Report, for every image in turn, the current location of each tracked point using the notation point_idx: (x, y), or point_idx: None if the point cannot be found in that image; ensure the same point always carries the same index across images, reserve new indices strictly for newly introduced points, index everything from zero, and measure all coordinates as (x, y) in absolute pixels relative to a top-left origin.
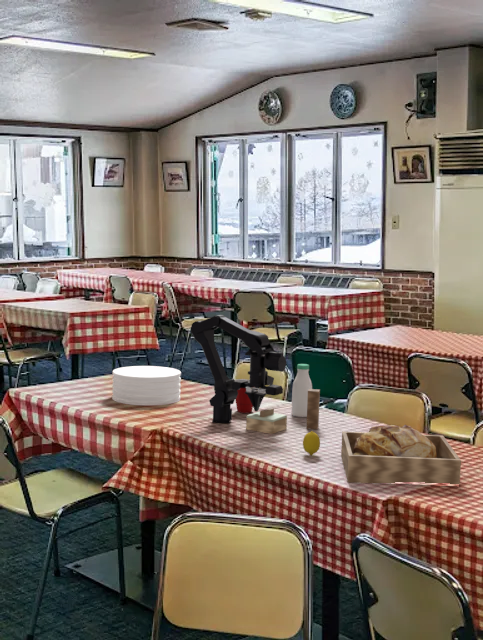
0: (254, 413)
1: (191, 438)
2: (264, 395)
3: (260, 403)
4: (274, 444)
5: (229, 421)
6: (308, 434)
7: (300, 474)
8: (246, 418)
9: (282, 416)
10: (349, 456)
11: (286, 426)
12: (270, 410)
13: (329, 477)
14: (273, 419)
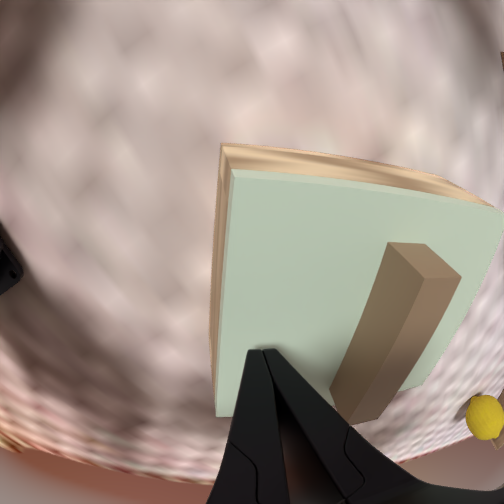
0: (234, 343)
1: (142, 475)
2: (437, 497)
3: (334, 422)
4: (401, 407)
5: (12, 267)
6: (486, 439)
7: (435, 451)
8: (214, 397)
9: (482, 278)
10: (496, 449)
11: (448, 181)
12: (425, 333)
13: (468, 431)
14: (425, 377)
